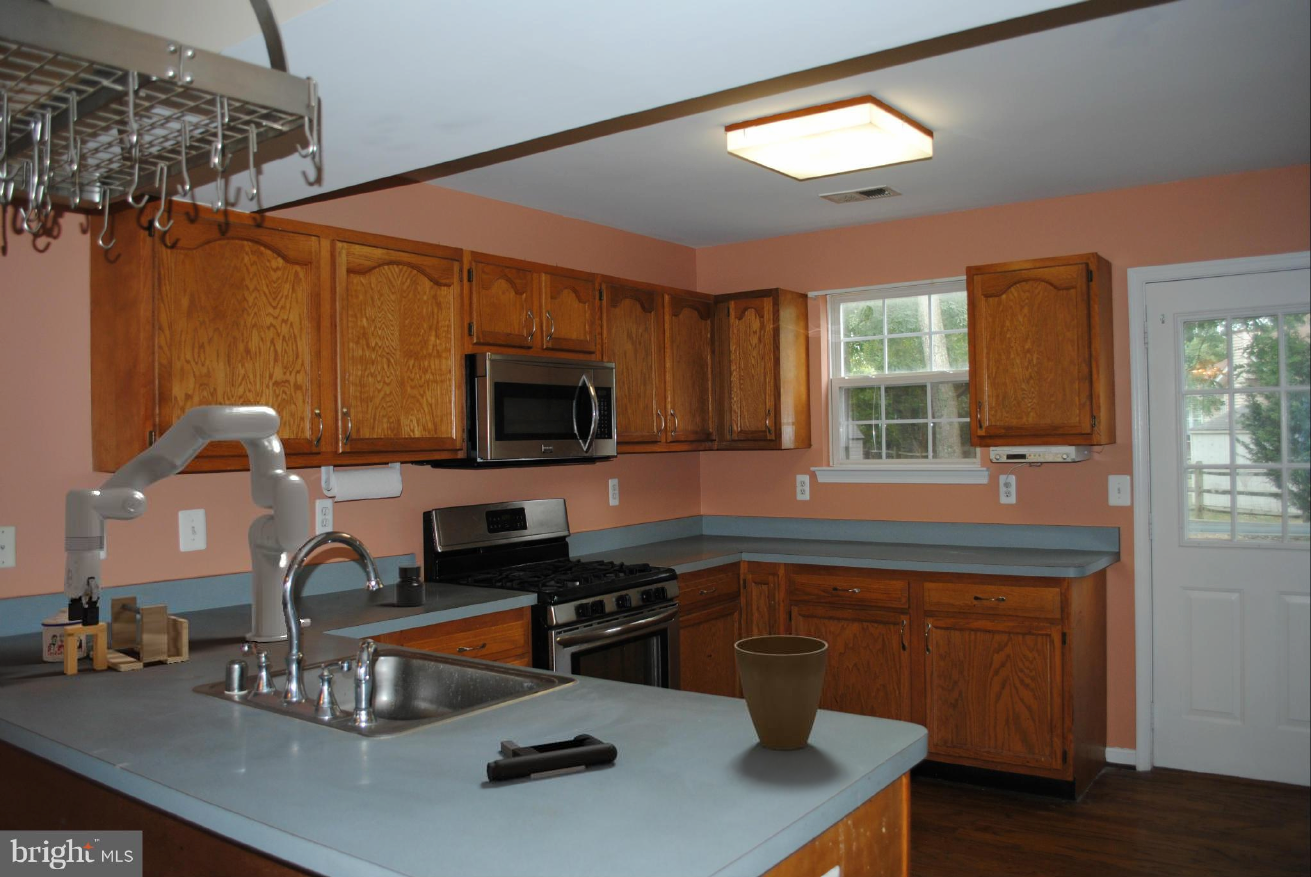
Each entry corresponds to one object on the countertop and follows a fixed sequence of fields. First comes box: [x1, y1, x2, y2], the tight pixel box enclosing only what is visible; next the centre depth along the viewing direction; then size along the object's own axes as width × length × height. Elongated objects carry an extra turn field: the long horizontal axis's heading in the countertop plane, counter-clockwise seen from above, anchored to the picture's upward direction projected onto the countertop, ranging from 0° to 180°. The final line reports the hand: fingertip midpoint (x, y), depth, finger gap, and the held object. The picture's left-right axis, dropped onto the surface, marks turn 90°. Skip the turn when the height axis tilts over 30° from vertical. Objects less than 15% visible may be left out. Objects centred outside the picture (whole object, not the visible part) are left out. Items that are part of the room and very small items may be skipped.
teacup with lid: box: [40, 607, 94, 663], centre depth 224 cm, size 12×9×12 cm
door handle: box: [486, 733, 618, 783], centre depth 146 cm, size 3×20×16 cm
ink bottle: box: [394, 564, 426, 608], centre depth 296 cm, size 10×9×12 cm
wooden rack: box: [89, 595, 189, 672], centre depth 221 cm, size 22×14×13 cm, turn 46°
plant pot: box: [734, 635, 829, 751], centre depth 154 cm, size 15×15×16 cm
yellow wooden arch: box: [63, 621, 108, 676], centre depth 210 cm, size 8×3×10 cm, turn 136°
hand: (83, 623), depth 210 cm, fingers open, 9 cm apart
